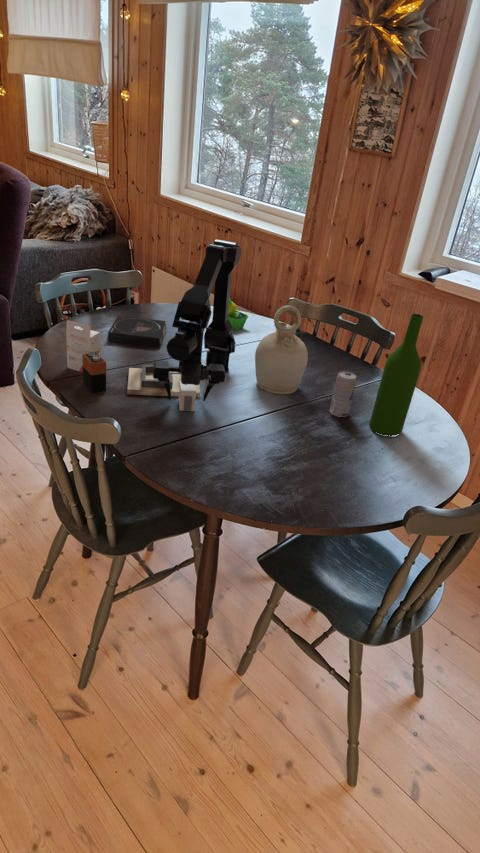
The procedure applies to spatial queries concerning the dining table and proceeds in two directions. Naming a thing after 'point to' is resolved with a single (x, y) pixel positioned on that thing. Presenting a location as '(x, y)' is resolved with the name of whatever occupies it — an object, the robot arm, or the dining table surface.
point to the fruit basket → (236, 317)
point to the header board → (152, 383)
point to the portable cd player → (137, 332)
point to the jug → (281, 357)
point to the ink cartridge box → (80, 343)
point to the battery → (94, 372)
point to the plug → (187, 397)
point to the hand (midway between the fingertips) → (187, 400)
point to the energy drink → (343, 394)
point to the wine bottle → (398, 383)
